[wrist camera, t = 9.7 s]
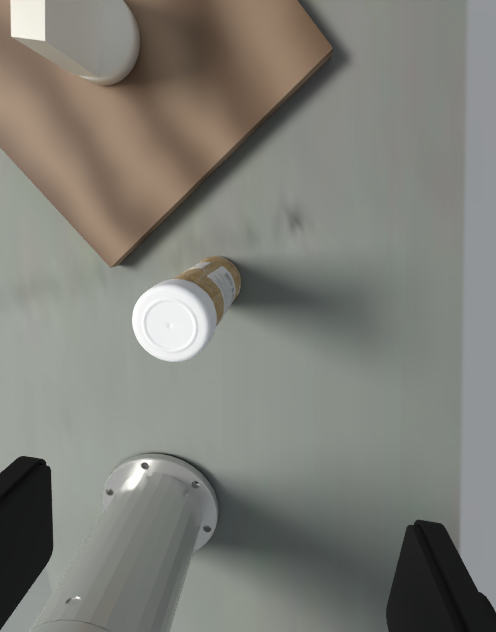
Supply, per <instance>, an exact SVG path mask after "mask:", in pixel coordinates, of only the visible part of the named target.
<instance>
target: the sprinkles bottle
mask: <svg viewBox="0 0 496 632" xmlns="http://www.w3.org/2000/svg"><path fill="white" fill-rule="evenodd" d="M240 289H241V276H240V274H239V271H238V269H237V268H236V267H235V265H234V264H233V263H232V262H230V261H228V260H227V259H225V258H223V257H209V258H206V259H204V260H202V261H201V262H199V263H198V264H196V265H195V266H193V267H191V268H189V269H188V270H186V271H185V272H183V273H182V274H180V275H179V276H177V277H176V278H174V279H171V280H166V281H163V282H161V283H159V284H157V285H155V286H154V287H152V288H150V289H149V290H148V291H146V292H145V293H144V294H143V295H142V296H141V297H140V298H139V300H138V301H137V303H136V305H135V307H134V311H133V318H132V322H133V329H134V332H135V335H136V337H137V339H138V341H139V343H140V344H141V345H142V346H143V348H144V349H145V350H146V351H147V352H149V353H150V354H151V355H153V356H155V357H157V358H159V359H161V360H165V361H170V362H180V361H185V360H188V359H191V358H193V357H194V356H196V355H197V354H199V353H200V352H201V351H202V350H203V349H204V347H205V346H206V345H207V344H208V342H209V341H210V339H211V338H212V336H213V334H214V331H215V328H216V326H217V325H218V324H219V322H220V321H221V319H222V318H223V316H224V315H225V313H226V312H227V310H228V309H229V307H230V305H231V304H232V302H233V301H234V300H235V299H236V297H237V296H238V294H239V292H240Z"/></svg>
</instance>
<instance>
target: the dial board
mask: <svg viewBox="0 0 496 632" xmlns="http://www.w3.org/2000/svg"><path fill="white" fill-rule="evenodd" d="M123 1H124V2H125V3H126V4H127V6H128V7H129V8H130V10H131V11H132V13H133V15H134V17H135V19H136V21H137V24H138V28H139V33H140V50H139V55H138V58H137V61H136V63H135V65H134V67H133V69H132V70H131V72H130V73H129V74H128V75H127V76H126V77H125V78H124V79H123V80H121V81H119V82H117V83H115V84H112V85H106V86H102V85H96V84H93V83H90V82H88V81H86V80H85V79H83V78H81V77H80V76H78V75H73V74H71V73H69V72H68V71H66V70H64V69H63V68H61V67H59V66H58V65H56V64H55V63H53V62H51V61H50V60H48V59H47V58H45V57H43V56H42V55H40V54H39V53H37V52H35V51H34V50H32V49H30V48H29V47H27V46H26V45H24V44H22V43H21V42H19V41H18V40H16V39H14V38H13V37H11V6H10V0H0V148H1V149H2V150H3V151H4V152H5V153H6V154H7V155H8V156H9V157H10V158H11V160H12V161H13V162H14V163H15V164H16V165H17V166H18V167H19V168H20V169H21V170H22V172H23V173H24V174H25V175H26V176H27V177H28V178H29V179H30V180H31V181H32V182H33V184H34V185H35V186H36V187H37V188H38V189H39V190H40V191H41V192H42V193H43V194H44V196H45V197H46V198H47V199H48V200H49V201H50V202H51V203H52V204H53V205H54V206H55V208H56V209H57V210H58V211H59V212H60V213H61V214H62V215H63V216H64V217H65V218H66V220H67V221H68V222H69V223H70V224H71V225H72V226H73V227H74V228H75V229H76V230H77V232H78V233H79V234H80V235H81V236H82V237H83V238H84V239H85V240H86V241H87V242H88V244H89V245H90V246H91V247H92V248H93V249H94V250H95V251H96V252H97V253H98V254H99V256H100V257H101V258H102V259H103V260H104V261H105V262H106V263H107V264H108V265H109V266H110V268H111V267H114V266H118V265H119V264H120V263H121V262H122V261H123V260H124V259H125V258H126V257H127V256H128V255H129V254H130V253H131V252H132V251H133V250H134V249H135V248H136V247H138V246H139V245H140V244H141V243H142V242H143V241H144V240H145V239H146V238H147V237H148V236H149V235H150V234H151V233H152V232H153V231H154V230H155V229H156V228H157V227H158V226H159V225H160V224H161V223H162V222H163V221H164V220H165V219H166V218H167V217H168V216H169V215H170V214H171V213H172V212H173V211H174V210H175V209H176V208H177V207H178V206H179V205H180V204H181V203H182V202H183V201H184V200H185V199H186V198H187V197H189V196H190V195H191V194H192V193H193V192H194V191H195V190H196V189H197V188H198V187H199V186H200V185H201V184H202V183H203V182H204V181H205V180H206V179H207V178H208V177H209V176H210V175H211V174H212V173H213V172H214V171H215V170H216V169H217V168H218V167H219V166H220V165H221V164H222V163H223V162H224V161H225V160H226V159H227V158H228V157H229V156H230V155H231V154H232V153H233V152H234V151H235V150H236V149H237V148H239V147H240V146H241V145H242V144H243V143H244V142H245V141H246V140H247V139H248V138H249V137H250V136H251V135H252V134H253V133H254V132H255V131H256V130H257V129H258V128H259V127H260V126H261V125H262V124H263V123H264V122H265V121H266V120H267V119H268V118H269V117H270V116H271V115H272V114H273V113H274V112H275V111H276V110H277V109H278V108H279V107H280V106H281V105H282V104H283V103H284V102H285V101H286V100H287V99H288V98H290V97H291V96H292V95H293V94H294V93H295V92H296V91H297V90H298V89H299V88H300V87H301V86H302V85H303V84H304V83H305V82H306V81H307V80H308V79H309V78H310V77H311V76H312V75H313V74H314V73H315V72H316V71H317V70H318V69H319V68H320V67H321V66H322V65H323V64H324V63H325V62H326V61H327V60H328V59H329V58H330V57H331V55H332V51H333V47H332V46H331V45H330V43H329V42H328V41H327V39H326V38H325V37H324V35H323V34H322V33H321V31H320V30H319V29H318V27H317V26H316V25H315V23H314V22H313V21H312V19H311V18H310V16H309V15H308V14H307V12H306V11H305V10H304V8H303V7H302V6H301V4H300V3H299V2H298V0H123Z"/></svg>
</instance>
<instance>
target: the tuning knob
mask: <svg viewBox="0 0 496 632" xmlns="http://www.w3.org/2000/svg"><path fill="white" fill-rule="evenodd" d="M10 6H11V37H13V38H14V39H16V40H18V41H19V42H21V43H22V44H24V45H26V46H27V47H29V48H30V49H32V50H34V51H35V52H37V53H39V54H40V55H42V56H43V57H45V58H47V59H48V60H50V61H51V62H53V63H55V64H56V65H58V66H59V67H61V68H63V69H64V70H66V71H68V72H69V73H71V74H73V75H78V76H80V77H81V78H83V79H85V80H86V81H88V82H90V83H93V84H96V85H102V86H106V85H112V84H115V83H117V82H119V81H121V80H123V79H124V78H125V77H126V76H127V75H128V74H129V73H130V72H131V70H132V69H133V67H134V65H135V63H136V61H137V58H138V55H139V50H140V33H139V28H138V24H137V21H136V19H135V17H134V15H133V13H132V11H131V10H130V8H129V7H128V6H127V4H126V3H125V2H124V1H123V0H10Z"/></svg>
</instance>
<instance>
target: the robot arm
mask: <svg viewBox="0 0 496 632" xmlns="http://www.w3.org/2000/svg"><path fill="white" fill-rule="evenodd" d="M102 506H103V510H104V513H103V515H102V517H101V518H100V520H99V521H98V523H97V524H96V526H95V528H94V529H93V531H92V532H91V534H90V536H89V537H88V539H87V540H86V542H85V543H84V545H83V547H81V548H80V550H79V552H78V555H77V556H76V558H75V559H74V561H73V562H72V564H71V566H70V567H69V569H68V570H67V572H66V574H65V575H64V577H63V578H62V580H61V581H60V583H59V585H58V586H57V588H56V589H55V591H54V593H53V594H52V596H51V597H50V599H49V600H48V602H47V604H46V605H45V607H44V608H43V610H42V612H41V613H40V615H39V616H38V618H37V620H36V621H35V623H34V624H33V626H32V628H31V629H30V631H29V632H170V628H171V625H172V621H173V618H174V615H175V611H176V608H177V604H178V601H179V598H180V594H181V591H182V587H183V584H184V581H185V577H186V574H187V570H188V567H189V564H190V560H191V557H192V554H193V552H195V551H197V550H199V549H200V548H201V547H202V546H204V545H205V544H206V543H207V542H208V541H209V539H210V538H211V537H212V535H213V533H214V530H215V528H216V524H217V520H218V512H219V507H218V500H217V497H216V494H215V492H214V490H213V488H212V486H211V485H210V483H209V481H208V480H207V479H206V478H205V477H204V476H203V475H202V473H200V472H199V471H198V470H197V469H196V468H194V467H193V466H192V465H190V464H188V463H186V462H185V461H183V460H180V459H178V458H175V457H172V456H168V455H163V454H143V455H137V456H135V457H132V458H129V459H127V460H126V461H124V462H122V463H121V464H120V465H119V466H117V467H116V468H115V469H114V471H113V472H112V474H111V475H110V476H109V478H108V479H107V481H106V483H105V485H104V489H103V493H102ZM52 551H53V523H52V490H51V469H50V467H49V466H46V462H45V460H43V459H39V458H33V457H26V456H21V457H19V458H17V459H16V460H15V461H14V462H13V463H11V464H10V465H9V466H8V467H7V468H6V469H5V470H3V471H2V472H1V473H0V630H1V628H2V627H3V625H4V624H5V622H6V621H7V620H8V618H9V617H10V616H11V614H12V613H13V611H14V610H15V609H16V607H17V606H18V604H19V603H20V601H21V600H22V599H23V597H24V596H25V594H26V593H27V592H28V590H29V589H30V587H31V586H32V584H33V583H34V582H35V580H36V579H37V577H38V576H39V575H40V573H41V572H42V570H43V569H44V567H45V566H46V565H47V563H48V561H49V559H50V557H51V555H52ZM386 618H387V625H388V630H389V632H496V612H495V610H494V608H493V607H492V605H491V603H490V602H489V600H488V599H487V597H486V596H484V595H483V594H482V593H480V592H478V590H477V588H476V586H475V584H474V582H473V581H472V578H471V576H470V575H469V573H468V571H467V569H466V567H465V565H464V563H463V561H462V559H461V557H460V555H459V553H458V552H457V550H456V548H455V546H454V544H453V542H452V540H451V538H450V536H449V534H448V532H447V530H446V528H445V527H444V526H443V525H442V524H441V523H436V522H429V521H423V520H416V521H415V523H414V525H408V526H407V529H406V533H405V537H404V541H403V545H402V549H401V552H400V556H399V560H398V564H397V568H396V572H395V576H394V580H393V584H392V588H391V592H390V596H389V600H388V604H387V609H386Z"/></svg>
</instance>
